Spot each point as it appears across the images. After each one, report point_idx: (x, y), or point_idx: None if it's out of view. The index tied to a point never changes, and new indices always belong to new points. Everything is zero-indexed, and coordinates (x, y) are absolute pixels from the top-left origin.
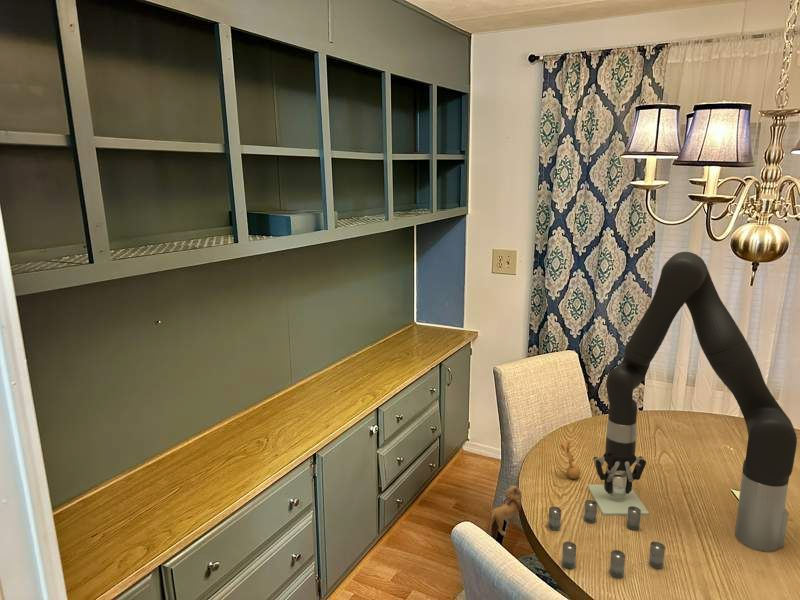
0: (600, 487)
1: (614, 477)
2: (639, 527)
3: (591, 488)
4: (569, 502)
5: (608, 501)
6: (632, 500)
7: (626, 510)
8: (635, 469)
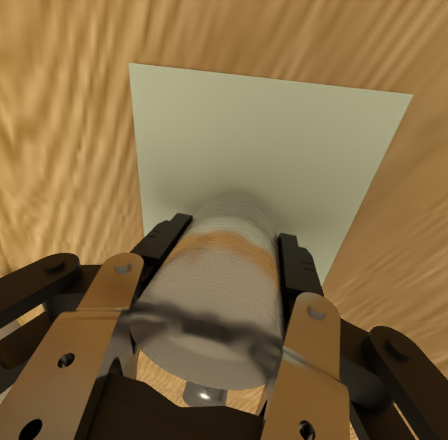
0: (195, 109)
1: (153, 354)
2: None
3: (142, 114)
4: (51, 193)
5: None
6: None
7: None
8: (428, 437)
